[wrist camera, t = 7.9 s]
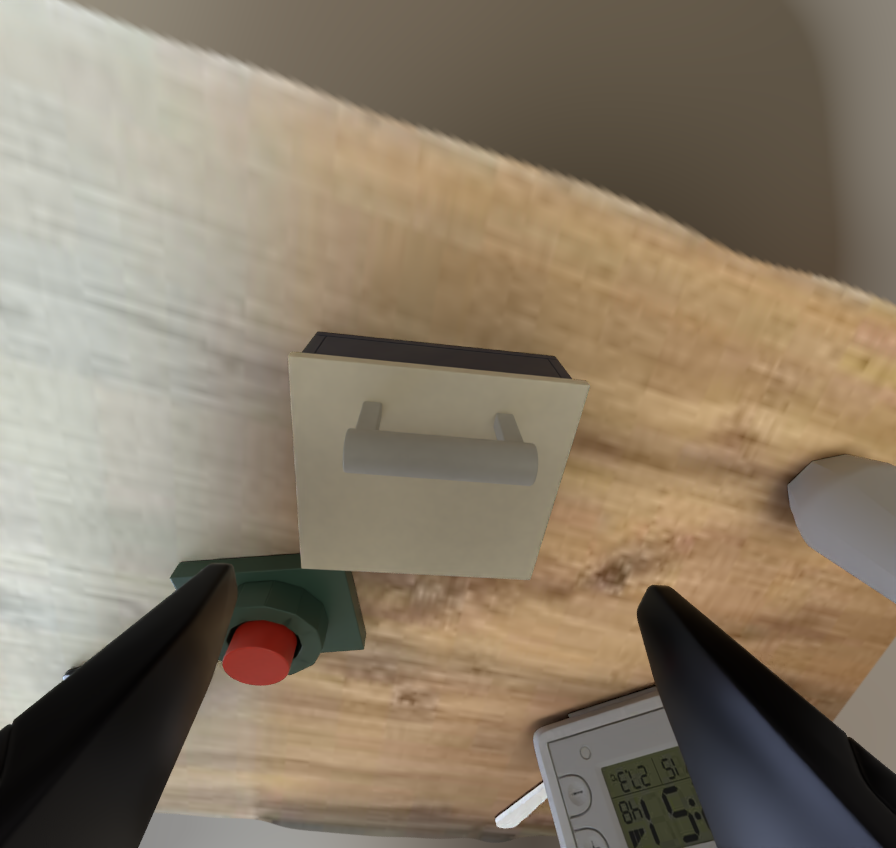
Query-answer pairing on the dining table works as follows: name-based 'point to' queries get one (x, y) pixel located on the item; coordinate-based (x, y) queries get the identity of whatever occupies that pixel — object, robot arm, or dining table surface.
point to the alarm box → (292, 603)
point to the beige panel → (426, 465)
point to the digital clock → (620, 778)
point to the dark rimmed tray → (435, 355)
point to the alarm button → (260, 653)
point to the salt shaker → (850, 516)
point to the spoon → (522, 808)
